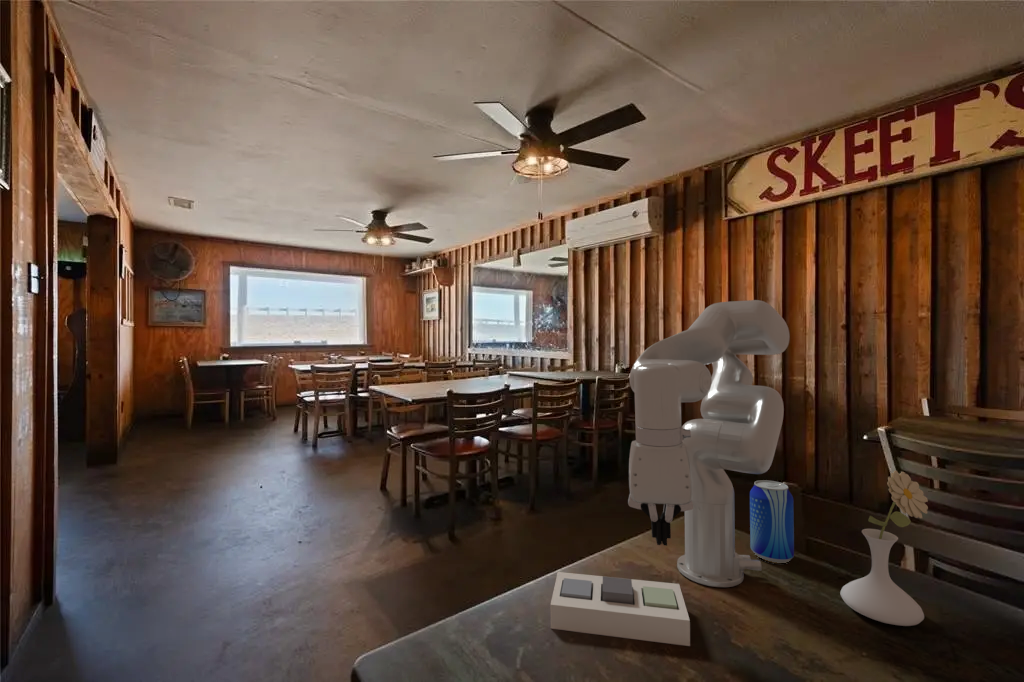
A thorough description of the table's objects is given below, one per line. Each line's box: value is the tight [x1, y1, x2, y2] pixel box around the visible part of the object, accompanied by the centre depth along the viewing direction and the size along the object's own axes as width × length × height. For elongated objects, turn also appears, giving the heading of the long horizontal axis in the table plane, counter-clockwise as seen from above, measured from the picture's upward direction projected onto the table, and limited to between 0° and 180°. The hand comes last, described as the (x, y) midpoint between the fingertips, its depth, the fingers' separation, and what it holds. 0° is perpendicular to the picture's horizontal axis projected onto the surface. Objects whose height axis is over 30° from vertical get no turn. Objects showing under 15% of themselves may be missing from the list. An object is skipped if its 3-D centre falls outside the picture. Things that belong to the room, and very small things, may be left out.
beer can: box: [749, 479, 795, 564], centre depth 100 cm, size 8×8×16 cm
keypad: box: [550, 571, 691, 647], centre depth 78 cm, size 22×11×4 cm, turn 78°
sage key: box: [643, 586, 677, 609], centre depth 77 cm, size 5×5×3 cm
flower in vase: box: [839, 470, 929, 627], centre depth 79 cm, size 13×11×25 cm
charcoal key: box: [602, 576, 633, 605], centre depth 78 cm, size 5×5×3 cm
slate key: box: [561, 578, 592, 600], centre depth 80 cm, size 5×5×3 cm
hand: (661, 541), depth 78 cm, fingers closed
